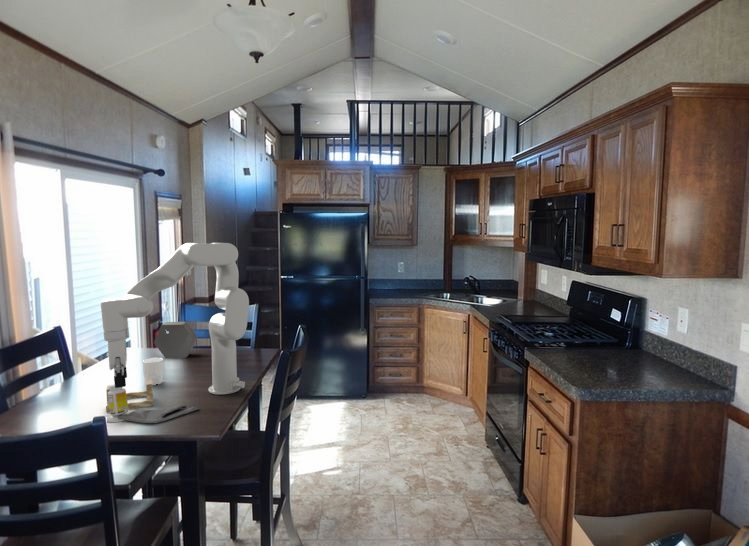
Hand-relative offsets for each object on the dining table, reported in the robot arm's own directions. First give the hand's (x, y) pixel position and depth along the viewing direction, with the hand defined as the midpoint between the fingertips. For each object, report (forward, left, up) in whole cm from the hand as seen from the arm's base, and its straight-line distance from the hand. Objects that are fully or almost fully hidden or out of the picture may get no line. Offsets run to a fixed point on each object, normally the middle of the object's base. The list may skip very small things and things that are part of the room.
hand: (121, 382), depth 160 cm
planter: (+34, -73, -12) cm, 81 cm away
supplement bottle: (+1, +1, -11) cm, 11 cm away
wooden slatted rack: (+7, -11, -12) cm, 18 cm away
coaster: (+1, +1, -12) cm, 12 cm away
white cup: (+15, -33, -12) cm, 38 cm away
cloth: (-12, -2, -12) cm, 17 cm away
